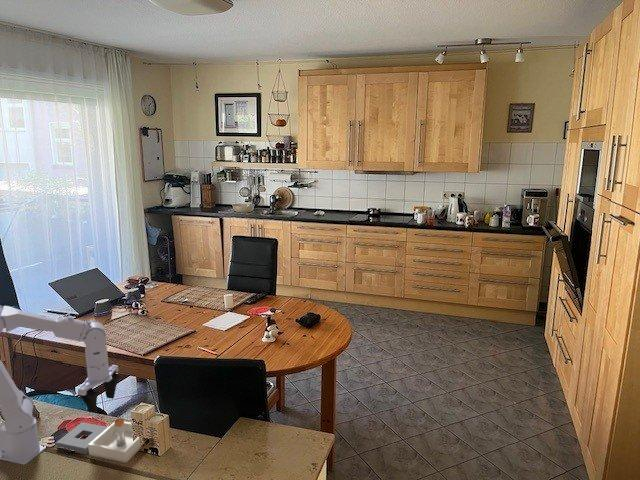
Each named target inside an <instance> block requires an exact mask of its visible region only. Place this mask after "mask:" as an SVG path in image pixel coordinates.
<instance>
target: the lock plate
mask: <svg viewBox="0 0 640 480" xmlns="http://www.w3.org/2000/svg"><path fill="white" fill-rule="evenodd" d="M108 427H109V426H103V425H98V424H93V423H89V422H88V423H87V422H82V421H81V422H80V423H79V424H77V426H75V427H74V428H73V429H71V430H70V431H68V432H67V433H66V434H64V435H63V436H62V437H61V438H60V439H58V440H57V441H56V445H55V446H56V448H57V447H64V448H68V449H71V450H74V451H75V452H74V453H77V454H81V455H85V456H87V455H89V449H88V444H89V443H90V442H91V441H93V440H94V439H95V438H96V437H97V436H98V435H100V434H101V433H102V432H103V431H104V430H105V429H107V428H108ZM82 435H87V436H88V437H86V438H81V439H79V438H80V437H81V436H82Z"/></svg>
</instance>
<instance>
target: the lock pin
mask: <svg viewBox="0 0 640 480" xmlns="http://www.w3.org/2000/svg"><path fill="white" fill-rule="evenodd" d="M124 421H125V420H124V418H122V417H121V418H119V417H118V418H117V419H115V420H114V422H115V431H116V442H117V446H119V447H120V446H124V445H125V444H126V441H125V429H124Z"/></svg>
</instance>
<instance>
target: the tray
mask: <svg viewBox="0 0 640 480" xmlns="http://www.w3.org/2000/svg"><path fill="white" fill-rule="evenodd" d="M131 423H132V422H130V421H125V420H124V429H125V441H126V444H125V445H124V446H120V447H119V446H117V442H116V431H115V421H114V422H112V423H111V424H110V425H109V426H107V427H108V428H107V429H105V430H104V431H103V432H102V433H101V434H100V435H98V436H97V437H96V438H95V439H94V440H93V441H91V442H90V443H89V444H88V449H89V453H88V455H89V456H91V457H95V458H100V459H104V460H105V459H106V460H109V461H114V462H119V463H124V464H127V463H128V462H129V461H130V460H131V459H132V458H133V457H134V456H135V454H136V453H137V452H139V451H140V449H141V448H140V438H139V437H137V438H136V439H135V440H134V441H133V438H132V424H131Z"/></svg>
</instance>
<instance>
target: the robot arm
mask: <svg viewBox="0 0 640 480" xmlns="http://www.w3.org/2000/svg"><path fill="white" fill-rule="evenodd" d="M17 328H26V329H34V330H40V331H46V332H52V333H53V335H54V336H55V337H56V338H61V339H65V340H70V341H75V342H83V343H84V345H85V349H84V350H85V351H84V354H85V363H86V371H87V377H86V379H85V381H84V382H83V383H82V384H81V386H79V387H78V388H77V395H78V396H79V398H81V400H82V401H83V402H84V404H85V406H86V408H87V410H88V412H89V413H93V414H95V413H96V412H97V411H98V409H97V408H98V406H97V404H98V400H97V399H98V395H99V391H95V389H94V388H95V387H97V386H99V385H101V384H103V387H104V390H105V396H106V399H114V397H115V395H116V394H115V393H116V390H117V386H118V383H119V380H120V379H121V374H120V373H118V372H119V366H118V365H116V364H112V365H110V366H109V357H108V347H107V345H106V344H107V338H108V337H107V334H106V328H105V326H104V325H103V323H101V322H100V321H98V320H95V319H94V320H85V321H84V320H80V319H75V318H74V316H72V315H67V317H66V316H61V317H59V318H56V319H55V318H51V317H47V316H43V315H40V314H37V313H34V312H30V311H25V310H22V309H18V308H16V307H13V306H9V305H0V334H1V333H2V332H3V330H4V329H5V332H6V333H8V332H11V331H13V330H16V329H17ZM34 405H35V404H34V401H33V399H32V398H30V397H29V396H27V395H25V393H24V392H23V390H20V389H18V387H17V385H16V384H15V381H14V380H13V378H12V377H11V375H10V373H9V371H8V370H7V368H6V367H5V365H4V363H3V362H2V360H1V359H0V411H1V416H2V417H3V419H4V424H3V425H2V426H1V427H0V460H3V461H7V462H10V463H14V464H20V465H23V466H24V465H27V464H28V463H29V462H31V461H32V460H33V459H34V458H36V457H37V456H38V455H39V454H41V453H42V452H43V451H45V450H46V449H47V448H46V446H44V447H43V446H41V445H40V444H41V443H40V439H39V432H38V426H37V425H38V423H37V418H36V417H34V416H33V412H34V411H33V410H34V407H35V406H34Z"/></svg>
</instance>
